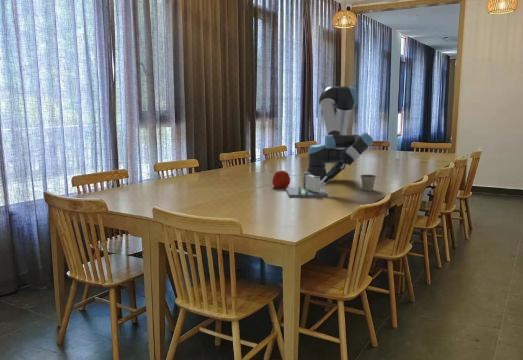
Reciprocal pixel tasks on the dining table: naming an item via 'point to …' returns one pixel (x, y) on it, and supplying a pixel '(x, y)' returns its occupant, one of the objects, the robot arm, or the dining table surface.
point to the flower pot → (368, 182)
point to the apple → (281, 179)
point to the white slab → (311, 182)
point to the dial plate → (310, 193)
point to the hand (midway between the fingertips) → (319, 185)
